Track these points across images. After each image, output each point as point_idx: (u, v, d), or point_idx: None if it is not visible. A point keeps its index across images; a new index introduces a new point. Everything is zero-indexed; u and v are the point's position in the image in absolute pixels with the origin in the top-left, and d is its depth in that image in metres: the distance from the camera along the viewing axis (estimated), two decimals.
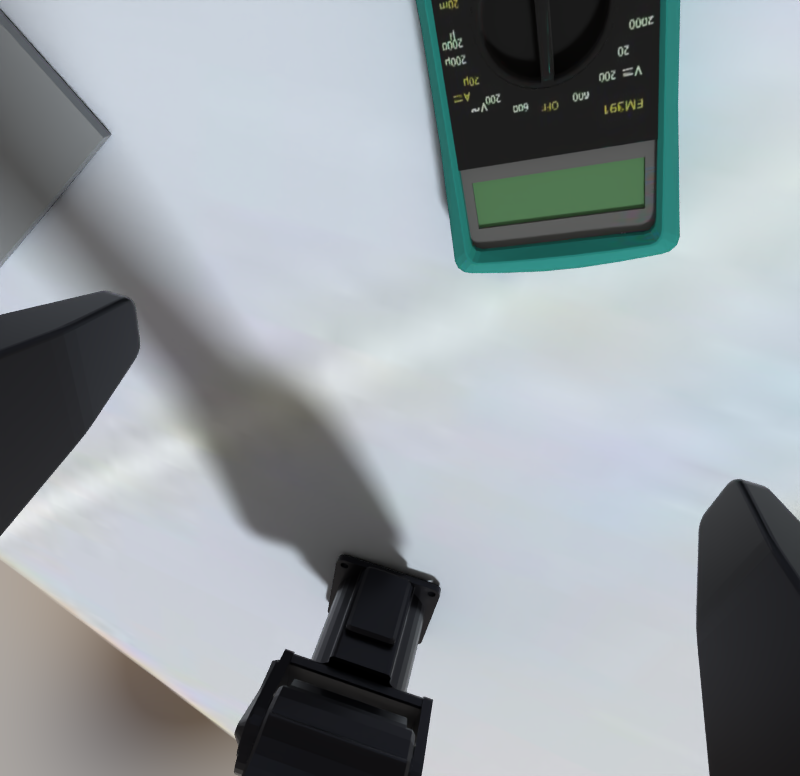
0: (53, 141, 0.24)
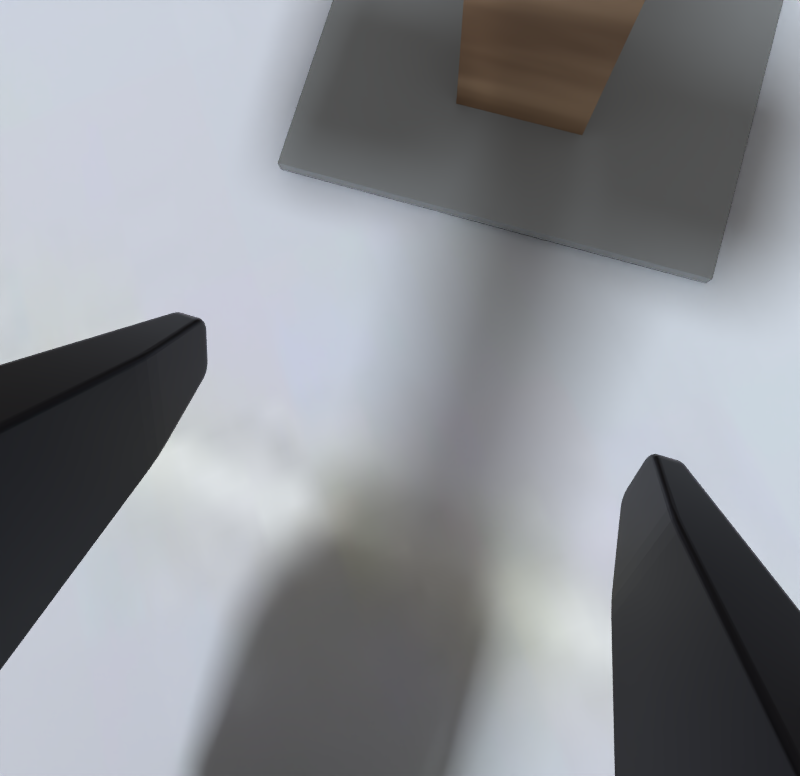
0: (664, 232, 0.22)
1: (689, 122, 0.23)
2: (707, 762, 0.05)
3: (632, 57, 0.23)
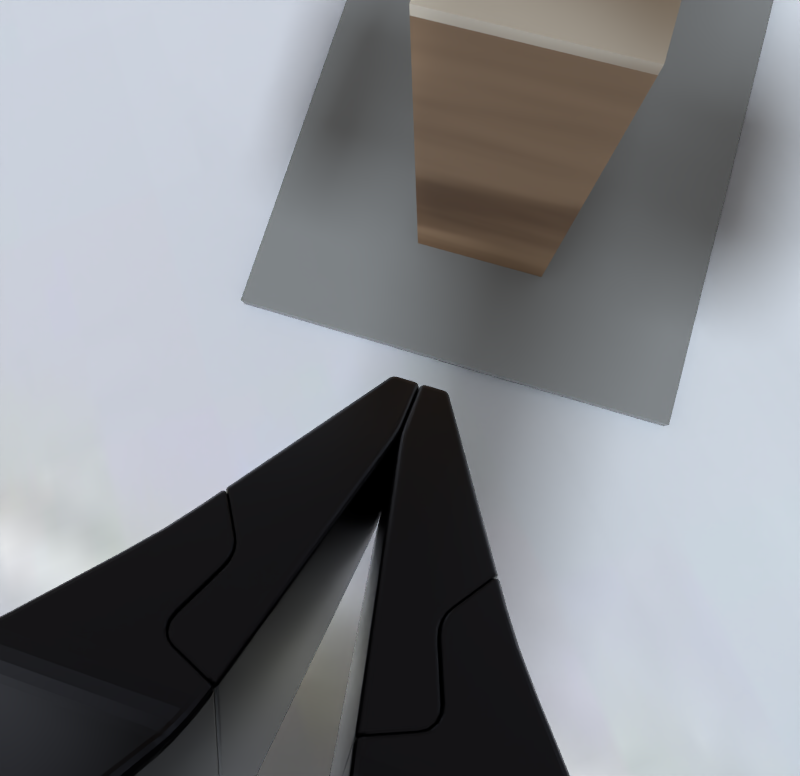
0: (622, 376, 0.22)
1: (646, 266, 0.23)
2: (360, 644, 0.06)
3: (590, 199, 0.23)
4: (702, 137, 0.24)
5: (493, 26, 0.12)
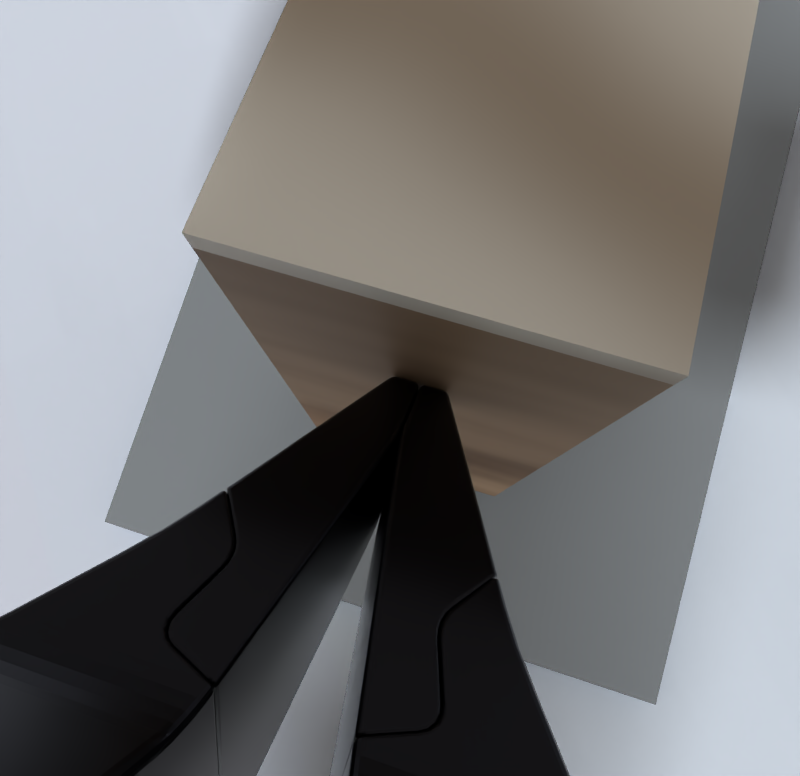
0: (595, 636, 0.17)
1: (628, 484, 0.18)
2: (361, 644, 0.06)
3: None
4: (702, 309, 0.18)
5: (347, 280, 0.06)
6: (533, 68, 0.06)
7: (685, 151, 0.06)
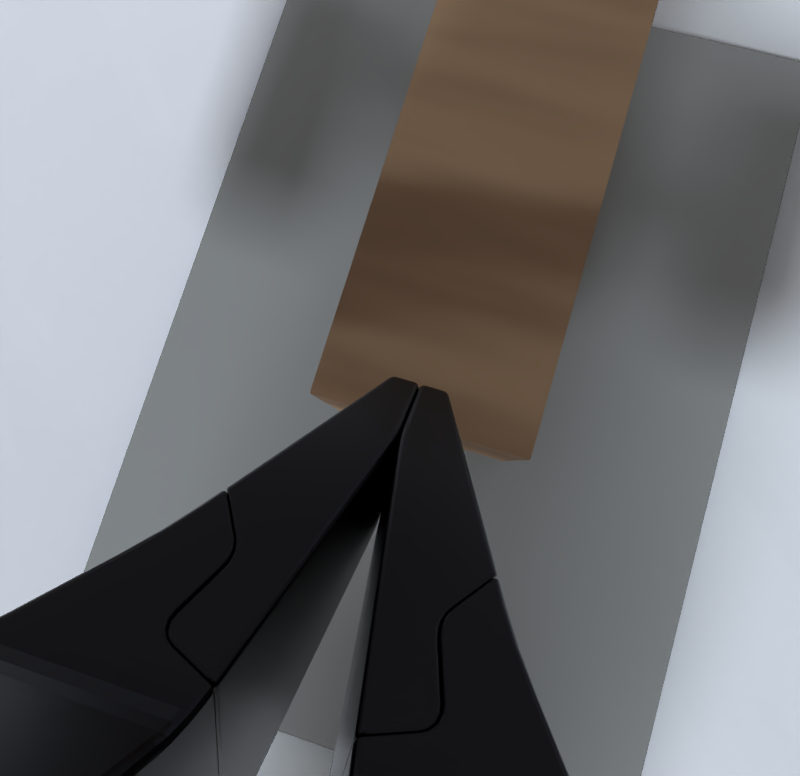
0: None
1: (595, 617, 0.17)
2: (360, 644, 0.06)
3: (522, 518, 0.17)
4: (674, 431, 0.17)
5: None
6: None
7: None
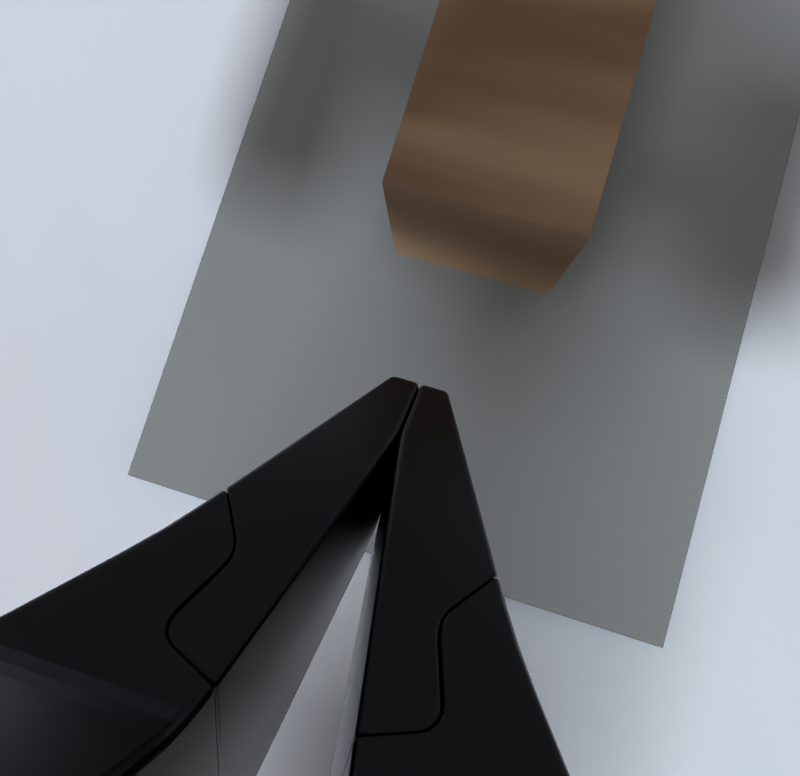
0: (604, 583, 0.18)
1: (637, 436, 0.18)
2: (360, 644, 0.06)
3: (568, 347, 0.18)
4: (712, 265, 0.18)
5: None
6: None
7: None
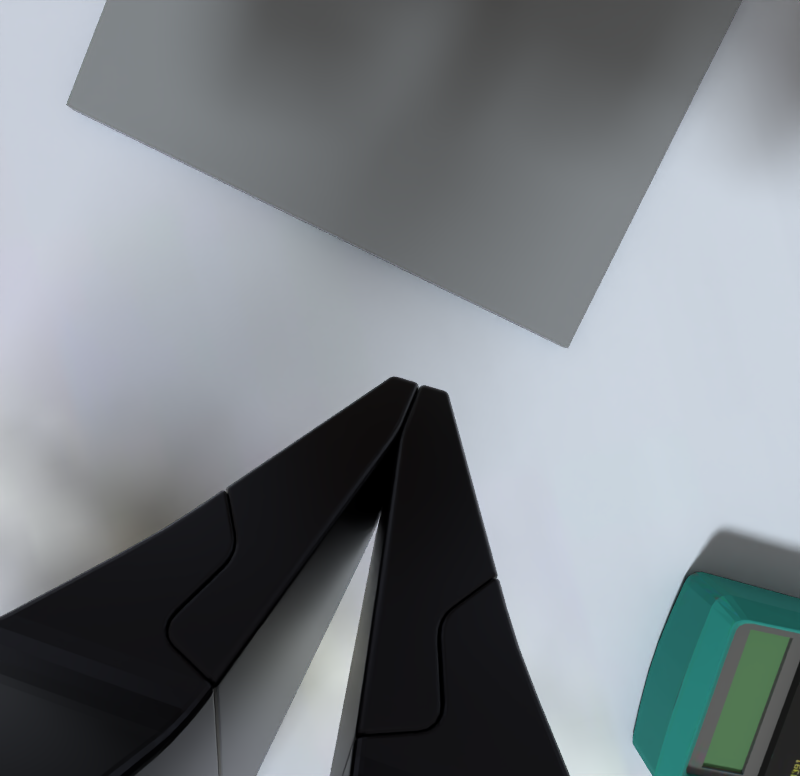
0: (530, 285, 0.19)
1: (588, 152, 0.19)
2: (360, 644, 0.06)
3: (542, 48, 0.18)
4: None
5: None
6: None
7: None
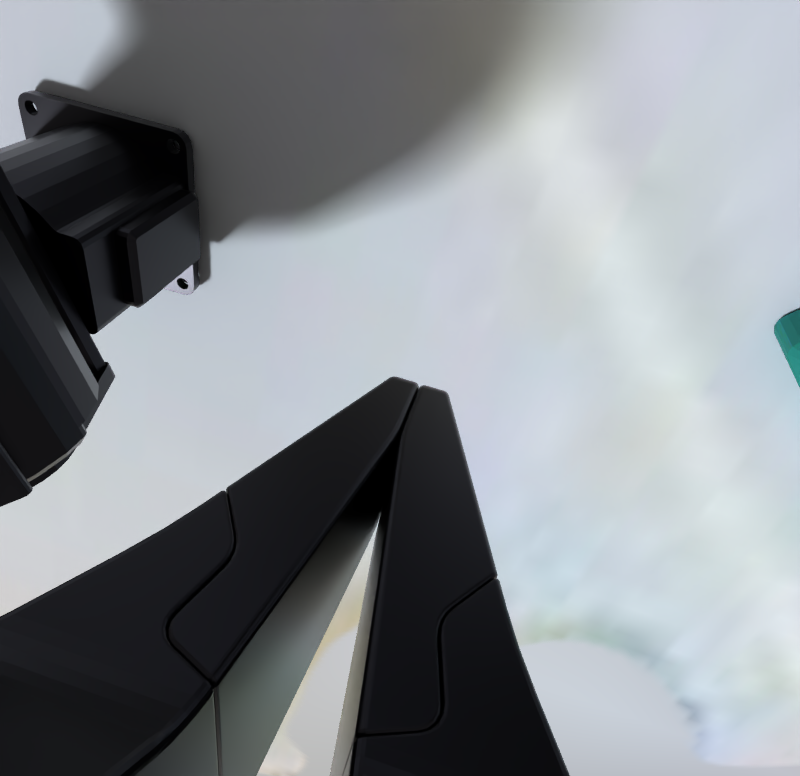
0: None
1: None
2: (361, 644, 0.06)
3: None
4: None
5: None
6: None
7: None
